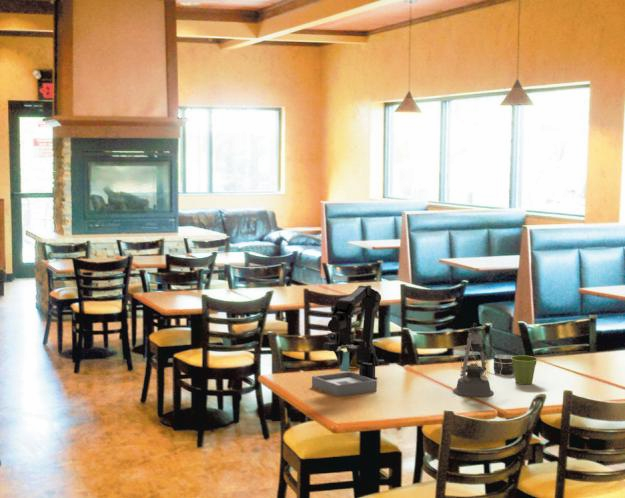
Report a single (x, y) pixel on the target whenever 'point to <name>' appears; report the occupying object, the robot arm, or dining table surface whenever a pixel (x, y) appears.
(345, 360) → the peg
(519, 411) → the dining table surface
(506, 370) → the jar
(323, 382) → the box
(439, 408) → the dining table surface
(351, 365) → the condiment
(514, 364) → the plant pot
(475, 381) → the lantern
